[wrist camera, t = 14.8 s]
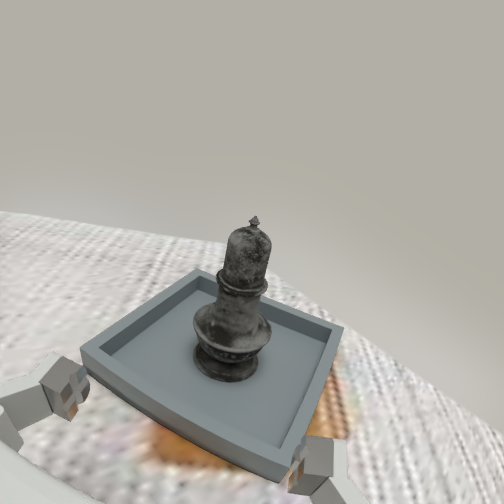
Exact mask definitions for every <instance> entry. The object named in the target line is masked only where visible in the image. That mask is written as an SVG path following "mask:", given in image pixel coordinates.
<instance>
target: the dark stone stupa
mask: <svg viewBox="0 0 504 504" xmlns="http://www.w3.org/2000/svg"><path fill="white" fill-rule="evenodd" d="M249 222H250V224H251V225H250V226H247V227H242V228H239V229H237V230H235V231H233V232H232V233H231V235H230V236H229V239H228V244H227V250H226V255H225V261H224V266H223V269H221V270H220V271H218V273H217V274H216V281H217V283H218V284H219V288H218V294H217V300H216V302H213V303H209V304H207V305H204V306H202V307H201V308H200V309H199V310H197V312H196V313H195V315H194V318H193V326H194V330H195V332H196V334H197V338H198V341H199V343H198V344H197V345H196V346H195V348H194V351H193V360H194V363H195V365H196V366H197V368H198V369H199V370H200V371H201V372H202V373H203V374H204V375H206V376H208V377H210V378H211V379H214V380H217V381H221V382H229V383H231V382H240V381H243V380H246V379H248V378H249V377H251V376H252V375H253V374H254V373H255V372H256V370H257V367H258V357H257V355H256V354H257V353H258V352H259V351H260V350H261V349H262V348H263V347H264V346H265V345H266V344H267V343H268V342H269V340H270V338H271V334H272V330H271V325H270V323H269V322H268V320H267V319H266V318H265V317H264V316H263V314H261V313H260V312H259V311H258V305H259V301H260V297H261V294H263V293H264V292H265V291H266V290H267V288H268V283H267V281H266V279H265V278H264V277H265V273H266V268H267V264H268V260H269V256H270V252H271V241H270V239H269V237H268V236H267V235H266V234H265V233H264V232H262V231H261V230H260V229H259V228H257V225H259V224H260V222H258V219H257V216H255V217H254V218H252V219H251V220H249Z"/></svg>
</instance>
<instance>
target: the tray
mask: <svg viewBox="0 0 504 504" xmlns="http://www.w3.org/2000/svg"><path fill="white" fill-rule="evenodd" d="M218 288H219V284H218V283H217V281H216V276H214V275H211V274H209V273H207V272H204V271H202V270H200V269H195V270H194V271H192V272H191V273H189V274H188V275H186V276H185V277H183V278H182V279H180V280H179V281H177V282H176V283H174V284H173V285H171V286H170V287H168V288H167V289H165V290H164V291H162V292H161V293H159V294H158V295H156V296H155V297H153V298H152V299H150V300H149V301H147V302H146V303H144V304H143V305H141V306H140V307H138V308H137V309H135V310H134V311H132V312H131V313H129V314H128V315H126V316H125V317H123V318H122V319H120V320H119V321H118V322H116V323H115V324H113V325H112V326H110V327H109V328H107V329H106V330H104V331H103V332H101V333H100V334H98V335H97V336H96V337H94V338H93V339H91V340H90V341H88V342H87V343H85V344H84V345H82V346H81V347H80V352H81V357H82V362H83V366H84V367H86V370H87V373H88V374H89V375H91V376H92V377H93V378H94V379H96V380H97V381H98V382H100V383H101V384H102V385H104V386H105V387H106V388H108V389H109V390H110V391H112V392H113V393H115V394H116V395H117V396H119V397H120V398H122V399H123V400H124V401H126V402H127V403H129V404H130V405H132V406H133V407H135V408H136V409H138V410H139V411H141V412H142V413H144V414H145V415H147V416H148V417H150V418H151V419H153V420H154V421H156V422H158V423H159V424H161V425H163V426H164V427H166V428H167V429H169V430H171V431H172V432H174V433H176V434H178V435H179V436H181V437H183V438H185V439H186V440H188V441H190V442H192V443H193V444H195V445H197V446H199V447H201V448H203V449H205V450H206V451H208V452H210V453H212V454H214V455H216V456H218V457H220V458H222V459H224V460H226V461H228V462H230V463H232V464H234V465H237V466H239V467H241V468H243V469H245V470H247V471H250V472H252V473H254V474H256V475H259V476H261V477H263V478H266V479H268V480H271V481H273V482H276V483H278V484H279V482H280V481H281V480H282V478H283V477H284V475H285V474H286V473H287V471H288V470H289V468H290V466H291V459H292V455H293V453H294V450H295V448H296V446H297V445H300V444H301V438H302V437H303V436H304V435H305V433H306V430H307V428H308V425H309V423H310V421H311V418H312V416H313V413H314V411H315V408H316V406H317V403H318V401H319V398H320V395H321V393H322V390H323V388H324V385H325V382H326V379H327V377H328V374H329V371H330V368H331V366H332V363H333V360H334V357H335V354H336V351H337V348H338V345H339V342H340V339H341V336H342V333H343V330H344V328H343V327H341V326H338V325H335V324H333V323H330V322H328V321H325V320H322V319H320V318H317V317H315V316H312V315H310V314H307V313H305V312H302V311H299V310H297V309H294V308H292V307H289V306H287V305H284V304H282V303H279V302H277V301H274V300H272V299H269V298H267V297H264V296H262V295H261V297H260V301H259V305H258V311H259V312H260V313H261V314H263V316H264V317H265V318H266V319H267V320H268V322H269V323H270V325H271V330H272V334H271V338H270V340H269V342H268V343H267V344H266V345H265V346H264V347H263V348H262V349H261V350H260V351H259V352H258V353H257V354H256V355H257V357H258V367H257V370H256V372H255V373H254V374H253V375H252V376H251V377H249V378H248V379H246V380H243V381H240V382H231V383H229V382H221V381H217V380H214V379H211V378H210V377H208V376H206V375H204V374H203V373H202V372H201V371H200V370H199V369H198V368H197V366H196V365H195V363H194V360H193V351H194V348H195V346H196V345H197V344H198V343H199V341H198V338H197V334H196V332H195V330H194V326H193V318H194V315H195V313H196V312H197V310H199V309H200V308H201V307H202V306H204V305H207V304H209V303H213V302H216V300H217V294H218Z"/></svg>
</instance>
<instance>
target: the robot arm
mask: <svg viewBox="0 0 504 504" xmlns="http://www.w3.org/2000/svg"><path fill="white" fill-rule="evenodd" d="M86 375H87V370H86V367H84V366H82V365H80V364H77V363H75V362H73V361H71V360H69V359H67V358H65V357H64V356H62V355H60V354H58V353H56V352H54V351H53V352H51V353H49V354H48V355H47V357H46V358H45V359H44V360H43V361H42V362H41V363H40V364H39V365H38V366H37V367H36V369H35V370H34V371H33V372H32V373H31V374H30V375H29V376H27V375H24V376H21V377H18V378H14V379H11V380H8V381H5V382H1V383H0V504H106V503H104V502H102V501H99V500H97V499H95V498H93V497H91V496H89V495H87V494H85V493H83V492H81V491H80V490H78V489H76V488H74V487H72V486H70V485H68V484H67V483H65V482H63V481H61V480H60V479H58V478H56V477H55V476H53V475H51V474H50V473H48V472H46V471H45V470H43V469H41V468H40V467H38V466H37V465H35V464H34V463H32V462H31V461H29V460H28V459H26V458H25V457H23V456H22V455H20V454H19V453H18V451H19V450H20V448H21V447H22V445H23V444H24V442H23V439H22V438H21V436H20V434H19V433H18V431H19V430H21V429H23V428H26V427H28V426H30V425H32V424H34V423H36V422H38V421H40V420H42V419H44V418H46V417H48V416H50V415H52V414H53V413H54V414H56V415H58V416H60V417H62V418H64V419H66V420H68V421H70V422H71V420H72V419H73V417H74V416H75V414H76V413H77V411H78V404H81V403H83V402H84V401H85V400H86V398H87V396H88V394H89V391H90V383H89V380H88V379H87V378H86ZM290 468H291V470H292V471H293V473H292V475H291V476H290V477H289V483H288V492H287V493H291V494H298V495H305V496H310V499H311V501H312V503H313V504H369V502H368V501H367V500H366V498H365V497H364V495H363V494H362V493H361V491H360V490H359V489H358V487H357V486H356V484H355V483H354V482H353V480H352V479H348V461H347V442H346V441H345V440H339V439H331V438H326V437H318V436H311V435H304V436H303V437H302V438H301V444H300V445H297V446H296V448H295V450H294V453H293V455H292V459H291V466H290Z"/></svg>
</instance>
